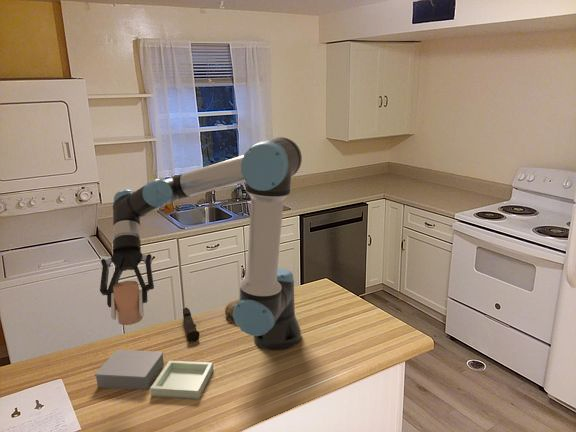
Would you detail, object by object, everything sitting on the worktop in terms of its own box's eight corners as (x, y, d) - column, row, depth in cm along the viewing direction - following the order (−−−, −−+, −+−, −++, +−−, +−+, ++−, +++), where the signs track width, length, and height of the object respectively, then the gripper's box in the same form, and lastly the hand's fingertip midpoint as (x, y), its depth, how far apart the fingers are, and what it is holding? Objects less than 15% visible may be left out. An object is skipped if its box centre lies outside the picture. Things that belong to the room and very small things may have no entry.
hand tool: (200, 341, 148) (199, 328, 147) (187, 344, 147) (186, 330, 145) (193, 316, 165) (192, 304, 164) (182, 318, 164) (181, 306, 163)
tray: (213, 370, 131) (212, 362, 131) (198, 399, 119) (198, 390, 118) (170, 368, 133) (169, 360, 133) (151, 396, 121) (150, 388, 120)
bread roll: (223, 326, 164) (217, 312, 159) (235, 304, 171) (229, 290, 166) (248, 331, 160) (242, 316, 155) (259, 308, 167) (254, 293, 162)
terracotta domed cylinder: (146, 314, 128) (142, 280, 125) (136, 325, 122) (131, 290, 119) (125, 313, 129) (120, 280, 126) (113, 324, 123) (108, 290, 120)
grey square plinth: (164, 364, 135) (163, 351, 134) (146, 390, 123) (144, 376, 122) (118, 362, 137) (117, 349, 136) (96, 387, 125) (94, 374, 124)
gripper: (162, 242, 138) (166, 315, 126) (94, 249, 134) (92, 325, 123) (159, 229, 131) (163, 306, 120) (88, 237, 128) (85, 316, 116)
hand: (127, 316), depth 121 cm, fingers closed on terracotta domed cylinder, 6 cm apart
